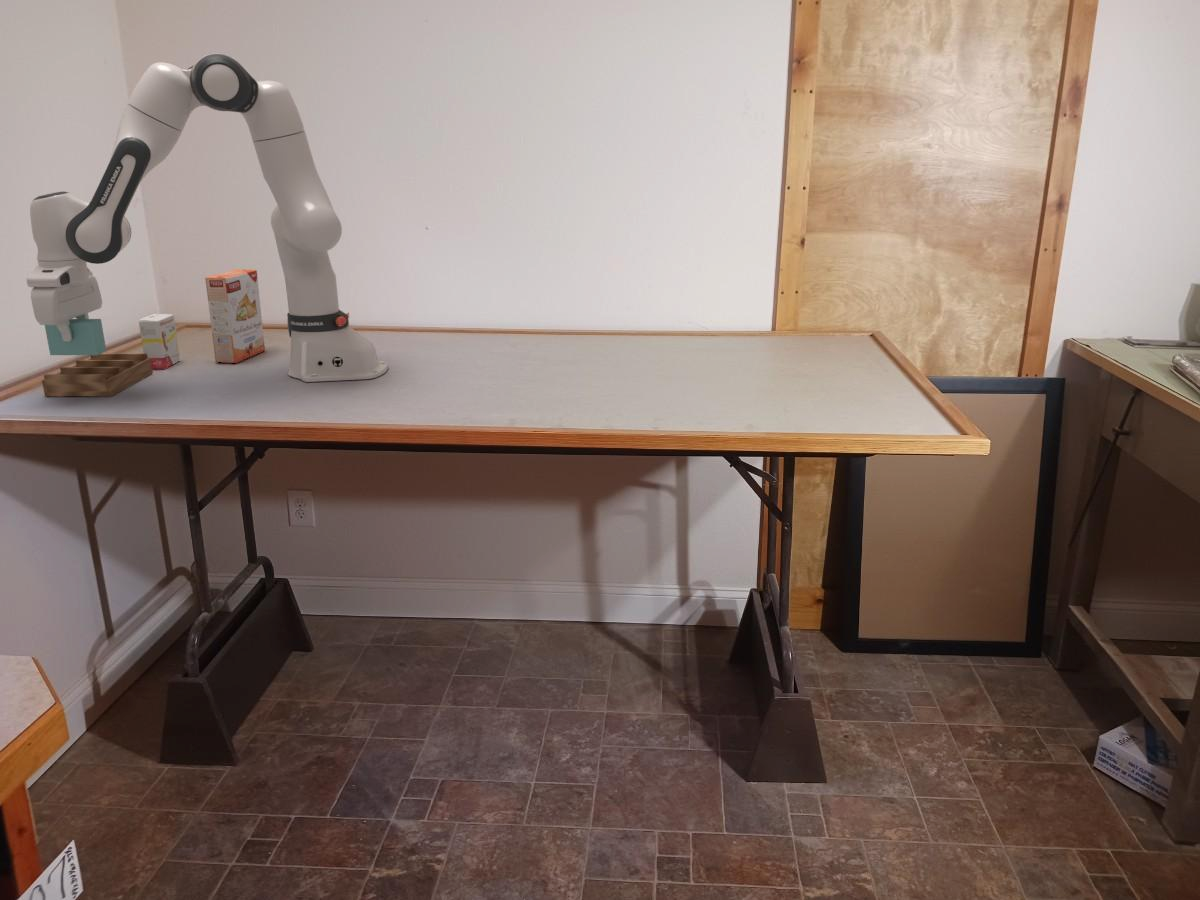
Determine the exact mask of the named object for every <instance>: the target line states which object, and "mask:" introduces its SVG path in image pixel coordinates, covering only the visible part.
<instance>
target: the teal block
mask: <svg viewBox="0 0 1200 900" xmlns="http://www.w3.org/2000/svg"><path fill="white" fill-rule="evenodd" d="M69 323H70V325H68V326H69V328H70V330H71V332H74V340H72V341H63V339H62V334H61V332H60V331H59V329H58V328H57V326H56V325H44V328H45V335H46V340H47V346H48V351H49V355H50V356H90V355H99V354H101V353H106V352H107V347H106V341H105V335H104V329H103V324H102V319H101V318H89V319H76V318H72V319H70V320H69Z"/></svg>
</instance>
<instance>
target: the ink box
mask: <svg viewBox="0 0 1200 900" xmlns="http://www.w3.org/2000/svg"><path fill="white" fill-rule="evenodd" d="M138 324H139V332H140V339H141V345H142V346H141V347H142V353H147V356H148V358H150V359H151V365H152V370H166V369H168V368H170V367H172V366H174V365H176V364H177V363H176V362H178V361H180V362H181V357H180V349H179V343H178V336H177V335H178V334H177V328H176V320H175V314H172V313H171V314H169V313H153V314H151V315H148V316H145V317H142V318H140V319H139V320H138ZM175 363H176V364H175ZM178 363H179V362H178ZM173 364H174V365H173ZM171 365H172V366H171ZM169 366H170V367H169ZM167 367H168V368H167Z"/></svg>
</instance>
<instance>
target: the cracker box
mask: <svg viewBox="0 0 1200 900" xmlns="http://www.w3.org/2000/svg"><path fill="white" fill-rule="evenodd" d="M204 279H205V287H206V288H205V289H206V294H207V295H206V296H207V303H208V311H209V318H210V326H211V337H212V342H213V351H214V358H215V363H217V362H221V364H232V363H235V364H238V363H240V362H243V361H245V360H248V359H250V358H253V357H255V356H257V355H259V354H258V353H260V354H262V353H264V352H263V351H265V352H266V350H265V349H266V348H265V346H266V345H265V341H264V340H265V337H264V329H263V328H264V327H263V319H262V318H263V317H262V310H261V301H260V300H261V299H260V290H259V281H258V270H256V269H245V268H244V269H243V268H242V269H241V268H238V269H234V270H230V271H226V272H221V273H217V274H213V275H209V276H205V278H204ZM261 352H262V353H261ZM256 354H257V355H256ZM254 355H255V356H254ZM252 356H253V357H252ZM249 357H250V358H249ZM247 358H248V359H247ZM244 359H245V360H244Z"/></svg>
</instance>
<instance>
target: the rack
mask: <svg viewBox="0 0 1200 900" xmlns="http://www.w3.org/2000/svg"><path fill="white" fill-rule="evenodd" d="M89 356H90V358H88V359H76V360H75V365H73V366H61V367H60V369H59V370H60V371H59V372H58V373H54V374H53V373H52V374H51V373H50V374H49V373H47V374H43V379H42V380H41V383H42V387H43V393H44V397H45V396H99V397H98V398H101V397H102V398H110V397H111V398H112V397H113V396H115V395H116V394H118V393H121V392H123V391H125V390H126V389H128V388H130V387H131V386H133V385H135V384H137V383H138V382H141V381H142V380H143V379H146V378H148V377H150V376H151V375H153V374H154V372H153V369H152V365H151V359H150V358H148V356H147V353H143V352H142V353H141V352H140V353H139V352H137V353H135V352H134V353H133V352H132V353H126V352H125V353H123V352H121V353H118V352H117V353H115V352H113V353H106V352H103V353H101V354H99V355H89ZM152 373H153V374H152ZM147 376H148V377H147Z"/></svg>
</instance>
